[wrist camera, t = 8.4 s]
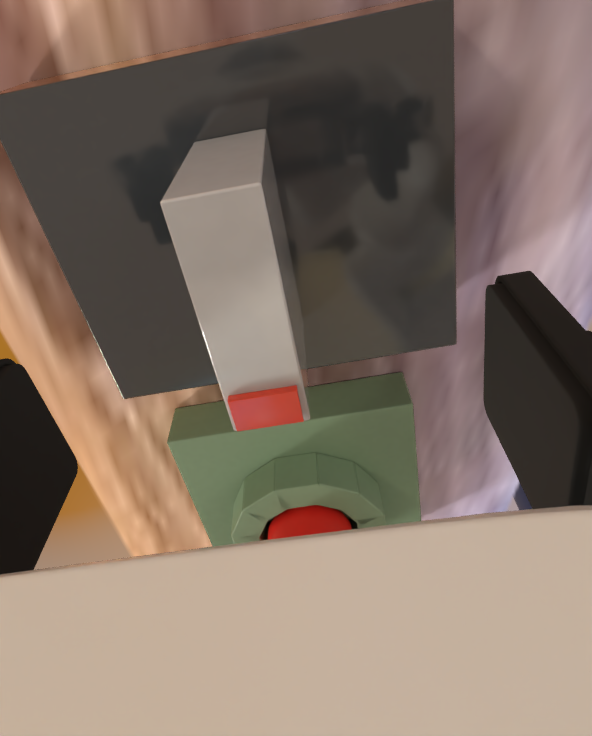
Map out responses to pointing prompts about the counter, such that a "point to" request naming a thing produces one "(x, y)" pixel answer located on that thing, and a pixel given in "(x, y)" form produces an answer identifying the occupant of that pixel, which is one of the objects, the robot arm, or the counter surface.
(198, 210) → the tap handle
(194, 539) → the counter surface
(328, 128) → the plate
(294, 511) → the button
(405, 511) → the button box
